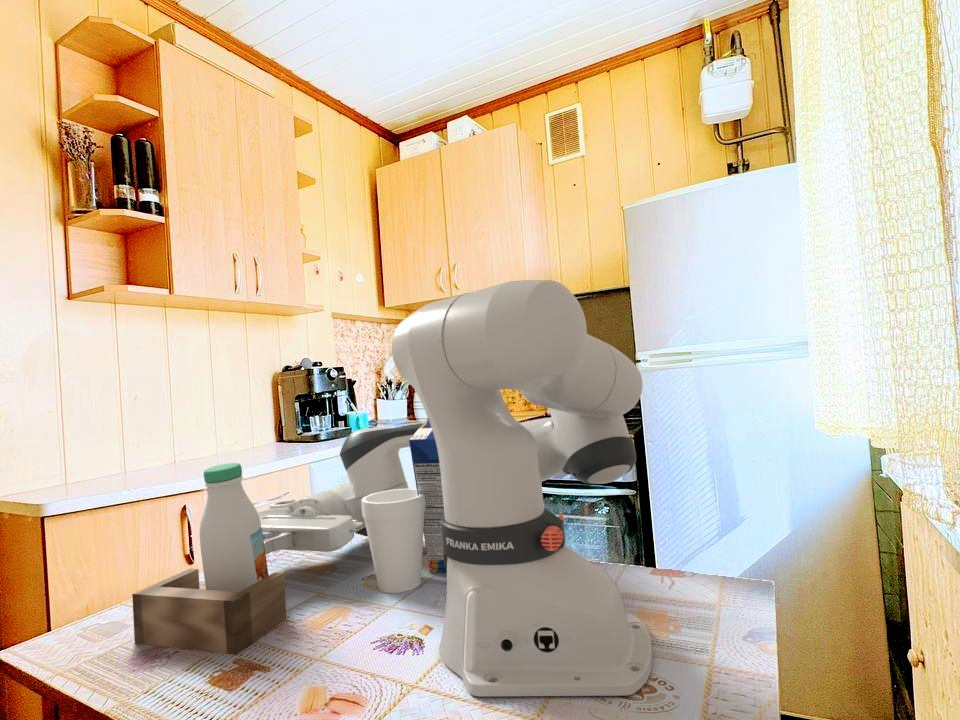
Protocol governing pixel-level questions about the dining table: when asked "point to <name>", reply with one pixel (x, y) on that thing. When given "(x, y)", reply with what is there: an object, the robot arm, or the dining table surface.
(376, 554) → the foam cup
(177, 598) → the walnut dock
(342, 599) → the dining table surface
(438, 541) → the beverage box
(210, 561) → the milk bottle
